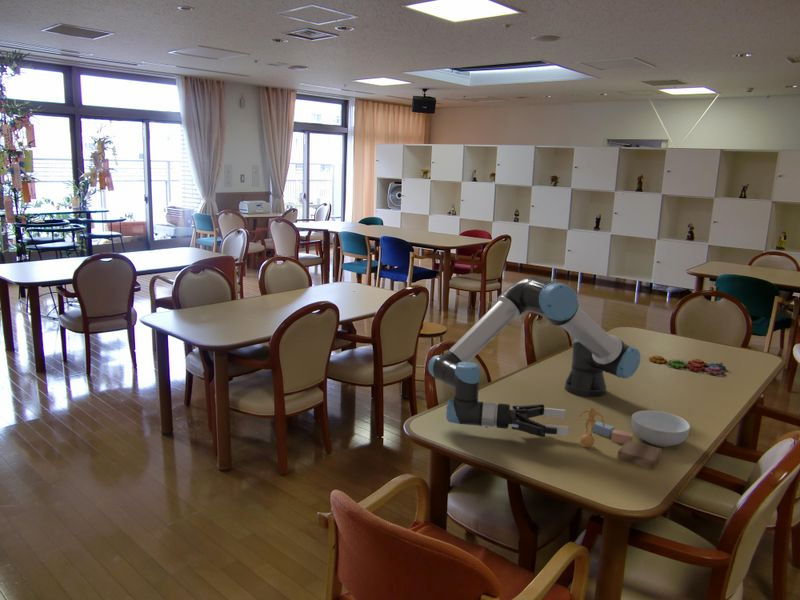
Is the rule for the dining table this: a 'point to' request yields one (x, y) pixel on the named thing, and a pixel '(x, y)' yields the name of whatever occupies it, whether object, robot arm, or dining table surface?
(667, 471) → the dining table surface
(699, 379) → the dining table surface
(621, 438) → the terracotta brick
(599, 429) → the slate-blue brick
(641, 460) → the walnut plinth
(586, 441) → the figurine
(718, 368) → the gear puzzle
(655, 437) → the cereal bowl
